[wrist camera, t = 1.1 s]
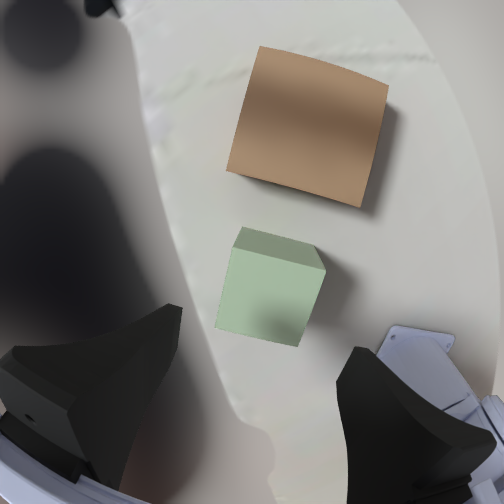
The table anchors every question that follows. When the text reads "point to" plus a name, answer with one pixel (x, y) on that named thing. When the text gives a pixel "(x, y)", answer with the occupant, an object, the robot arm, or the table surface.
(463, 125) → the table surface
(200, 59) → the table surface
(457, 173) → the table surface
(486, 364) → the table surface
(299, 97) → the walnut block
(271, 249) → the sage cube
